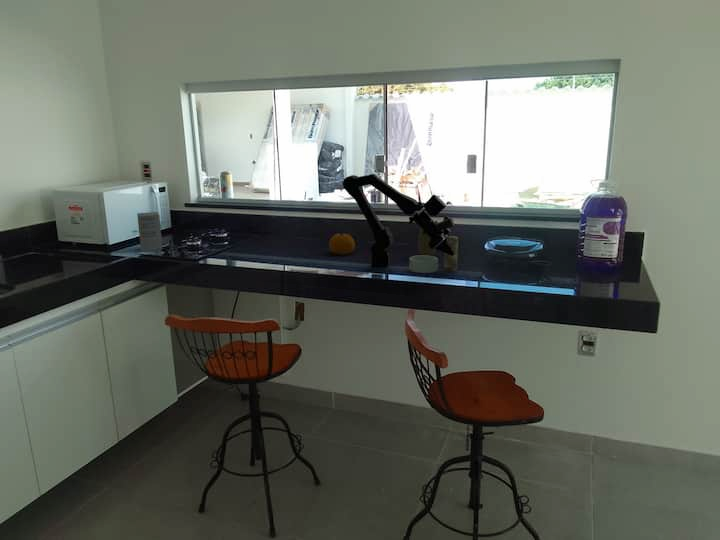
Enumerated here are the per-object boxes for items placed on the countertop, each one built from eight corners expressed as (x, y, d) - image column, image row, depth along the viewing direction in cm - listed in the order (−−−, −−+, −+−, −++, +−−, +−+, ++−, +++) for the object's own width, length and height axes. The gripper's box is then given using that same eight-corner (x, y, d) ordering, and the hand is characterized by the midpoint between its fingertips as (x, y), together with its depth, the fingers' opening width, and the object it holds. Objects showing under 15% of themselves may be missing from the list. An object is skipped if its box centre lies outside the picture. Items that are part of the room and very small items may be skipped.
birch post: (443, 271, 216) (444, 238, 213) (444, 268, 221) (445, 236, 218) (456, 271, 216) (458, 238, 212) (456, 268, 220) (458, 236, 217)
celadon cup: (408, 272, 215) (408, 261, 214) (410, 265, 225) (410, 254, 224) (437, 273, 213) (437, 262, 212) (438, 266, 223) (438, 255, 222)
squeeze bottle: (415, 255, 242) (415, 215, 238) (421, 252, 249) (422, 212, 245) (432, 257, 239) (433, 216, 234) (438, 253, 246) (439, 213, 241)
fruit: (356, 250, 254) (356, 229, 252) (353, 256, 243) (353, 233, 241) (331, 250, 255) (330, 228, 253) (327, 255, 244) (326, 233, 242)
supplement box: (140, 248, 264) (136, 213, 260) (161, 246, 268) (157, 211, 263) (142, 252, 255) (138, 215, 251) (163, 250, 259) (159, 214, 255)
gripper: (437, 214, 205) (466, 244, 205) (446, 207, 222) (472, 235, 222) (416, 234, 209) (445, 264, 209) (426, 225, 227) (452, 253, 226)
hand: (454, 253), depth 216 cm, fingers closed on birch post, 5 cm apart
